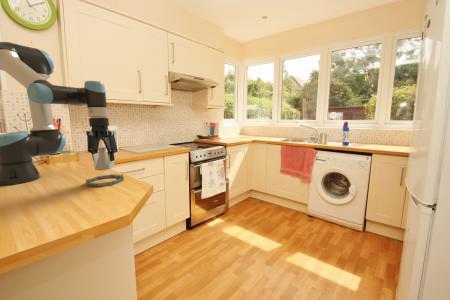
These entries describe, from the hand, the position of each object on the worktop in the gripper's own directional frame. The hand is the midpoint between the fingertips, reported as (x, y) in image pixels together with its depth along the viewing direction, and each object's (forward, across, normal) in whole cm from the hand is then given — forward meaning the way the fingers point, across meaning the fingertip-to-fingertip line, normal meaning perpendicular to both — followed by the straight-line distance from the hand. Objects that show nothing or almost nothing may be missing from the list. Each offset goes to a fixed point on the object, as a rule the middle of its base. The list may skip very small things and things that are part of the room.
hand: (104, 167), depth 97 cm
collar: (+7, 0, 0) cm, 7 cm away
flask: (+1, 0, 0) cm, 1 cm away
